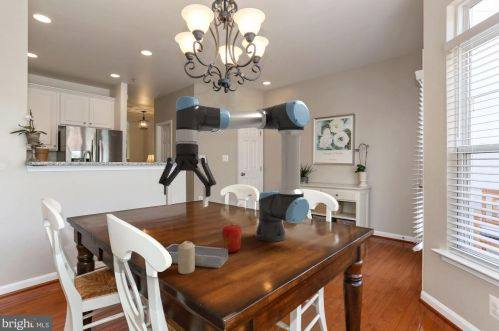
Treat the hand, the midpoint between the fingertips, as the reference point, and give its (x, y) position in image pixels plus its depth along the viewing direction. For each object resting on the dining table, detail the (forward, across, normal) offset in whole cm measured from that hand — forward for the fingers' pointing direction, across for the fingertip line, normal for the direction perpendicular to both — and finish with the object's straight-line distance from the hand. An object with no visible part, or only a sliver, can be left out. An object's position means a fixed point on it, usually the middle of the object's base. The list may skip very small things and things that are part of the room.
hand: (186, 205), depth 87 cm
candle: (+23, 0, 0) cm, 23 cm away
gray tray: (+23, +2, -10) cm, 25 cm away
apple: (+23, -9, -23) cm, 34 cm away
